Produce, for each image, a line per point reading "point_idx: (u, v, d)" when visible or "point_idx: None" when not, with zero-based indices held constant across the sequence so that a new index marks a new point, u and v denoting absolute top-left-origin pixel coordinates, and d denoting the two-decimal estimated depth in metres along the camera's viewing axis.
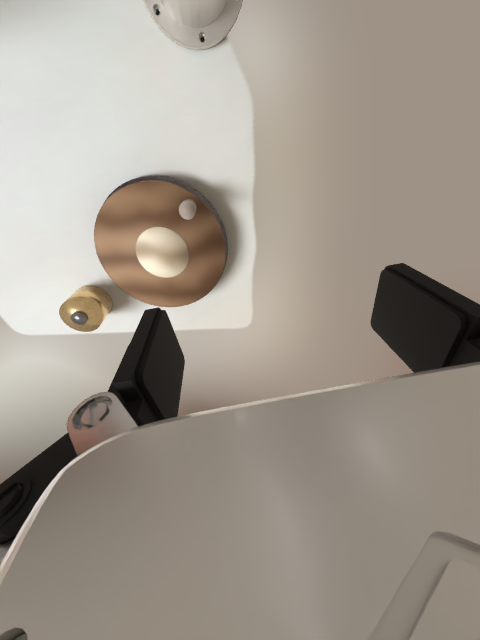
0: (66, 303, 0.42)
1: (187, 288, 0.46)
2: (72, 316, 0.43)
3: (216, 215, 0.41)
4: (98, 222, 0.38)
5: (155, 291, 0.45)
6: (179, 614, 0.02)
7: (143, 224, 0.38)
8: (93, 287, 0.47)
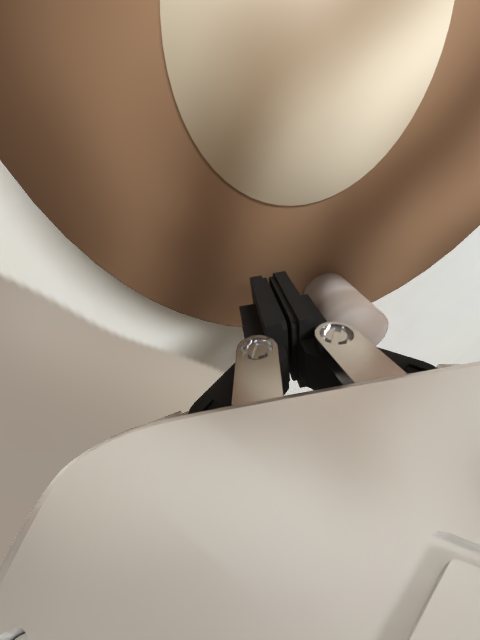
0: None
1: None
2: None
3: None
4: None
5: None
6: (179, 614, 0.02)
7: (440, 109, 0.09)
8: None
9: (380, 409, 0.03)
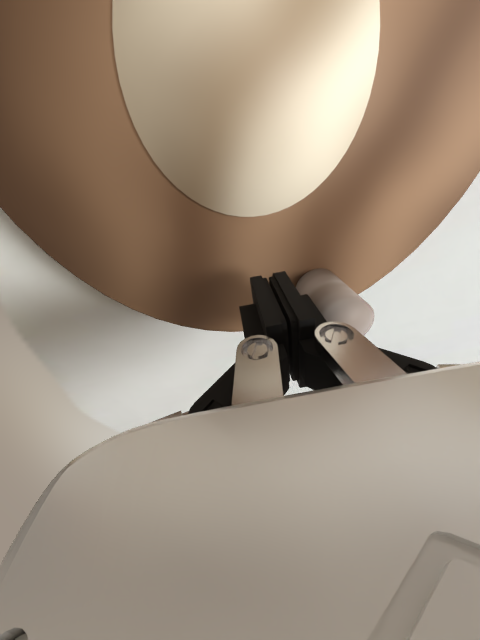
0: None
1: (8, 55, 0.07)
2: None
3: None
4: None
5: None
6: (179, 613, 0.02)
7: (390, 100, 0.09)
8: None
9: (380, 409, 0.03)
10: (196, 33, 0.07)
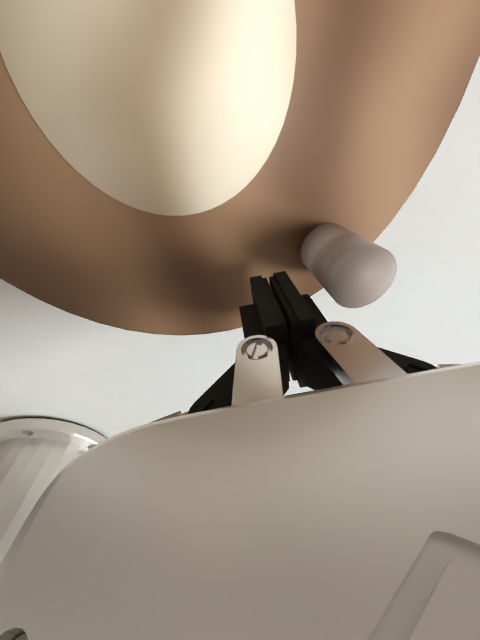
0: None
1: None
2: None
3: None
4: None
5: None
6: (179, 614, 0.02)
7: None
8: None
9: (380, 409, 0.03)
10: (85, 50, 0.07)
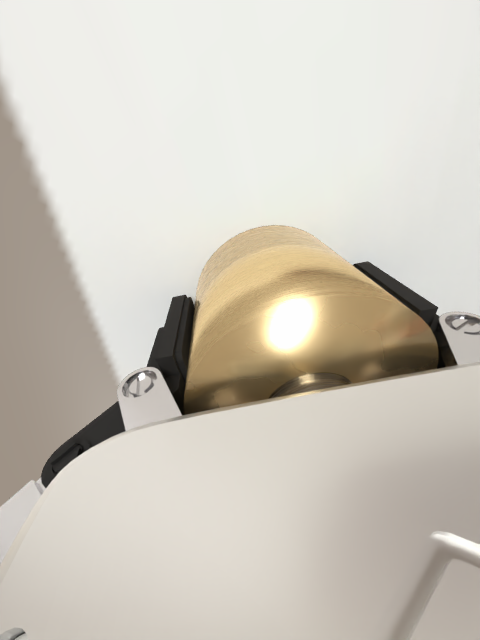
0: None
1: None
2: None
3: None
4: None
5: None
6: (179, 613, 0.02)
7: None
8: None
9: (380, 409, 0.03)
10: None
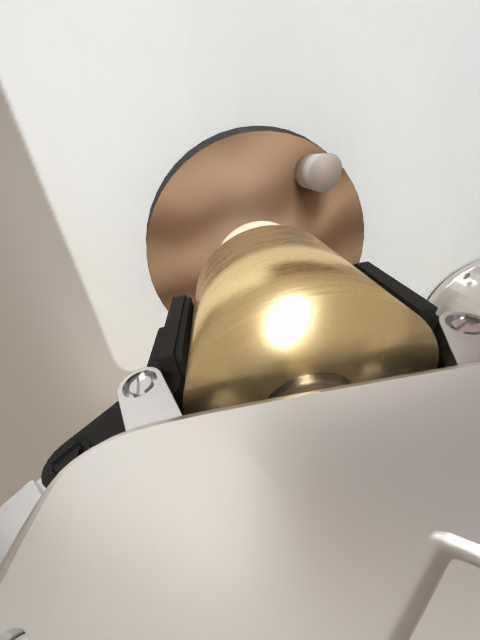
0: None
1: None
2: None
3: None
4: (152, 236, 0.21)
5: None
6: (179, 613, 0.02)
7: (226, 222, 0.21)
8: None
9: (380, 409, 0.03)
10: None
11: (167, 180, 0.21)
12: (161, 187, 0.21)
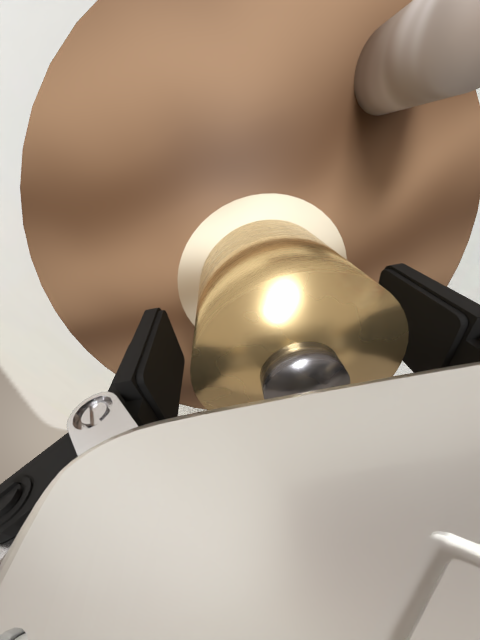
0: (389, 371, 0.08)
1: None
2: (341, 381, 0.07)
3: None
4: (34, 220, 0.10)
5: None
6: (179, 613, 0.02)
7: (197, 194, 0.10)
8: None
9: (380, 409, 0.03)
10: None
11: None
12: None
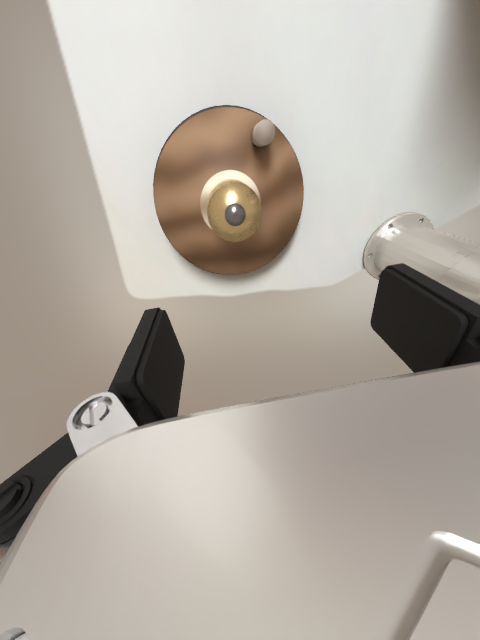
0: (259, 216, 0.30)
1: (259, 246, 0.39)
2: (243, 211, 0.29)
3: None
4: (157, 178, 0.32)
5: (223, 257, 0.39)
6: (179, 614, 0.02)
7: (207, 170, 0.32)
8: None
9: (380, 409, 0.03)
10: None
11: None
12: (164, 145, 0.32)
